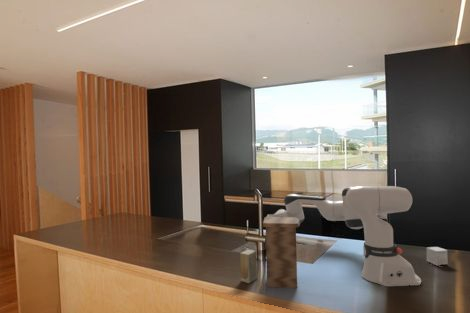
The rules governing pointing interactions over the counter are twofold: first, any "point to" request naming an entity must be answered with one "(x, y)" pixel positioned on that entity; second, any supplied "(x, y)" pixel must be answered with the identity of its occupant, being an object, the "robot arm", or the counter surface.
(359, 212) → the robot arm
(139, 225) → the counter surface
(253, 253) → the skincare box
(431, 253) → the skincare box
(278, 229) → the pedestal
